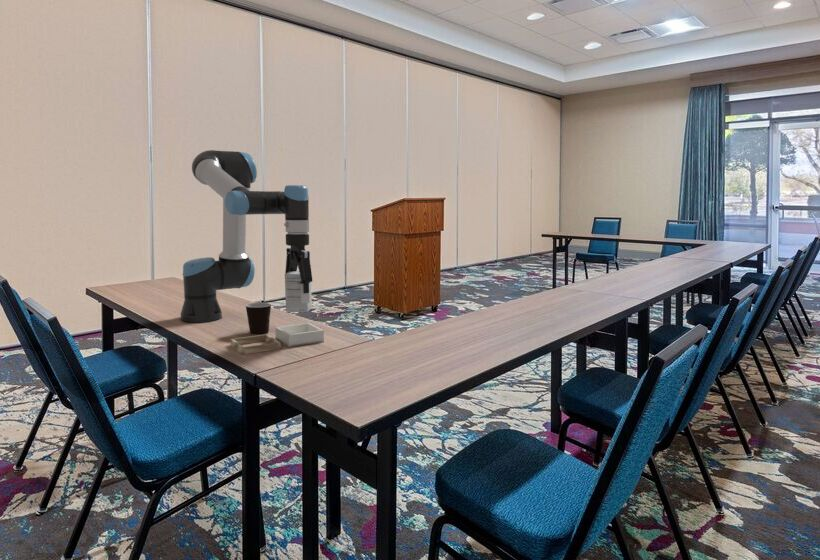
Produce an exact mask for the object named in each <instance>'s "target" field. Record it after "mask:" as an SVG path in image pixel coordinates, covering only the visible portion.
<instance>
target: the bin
mask: <svg viewBox="0 0 820 560" xmlns="http://www.w3.org/2000/svg"><path fill="white" fill-rule="evenodd" d="M274 328H275V330H274V332H275V334H274V335H275V339H276V340H277V341H278V340H279V342H281V343H282V344H283V345H284V346H286V347H288V348H292V347H293V348H294V347H299V345H300V346H306V344H307V345H312V344H313V345H314V344H319V343H324V341H325V330H324V329H322V328H320V327H318V326H317V325H314V324H312V323H310V322H304V323H299V324H298V323H297V324H290V325H289V324H288V325H282V326H275V327H274Z"/></svg>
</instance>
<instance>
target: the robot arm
mask: <svg viewBox="0 0 820 560" xmlns="http://www.w3.org/2000/svg"><path fill="white" fill-rule="evenodd" d="M256 164H257V163H256V162H255V160H254V157H252V155H251V154H250V153H248V152H243V151H232V150H231V151H230V150H229V151H228V150H226V151H225V150H215V149H213V150H212V149H209V150H205V151H202V152H200V153H199V154H197V155H196V157H195V158H194V159H193V160H192V163H191V172H192V174H193V176H194V178H195V180H197V182H199V183H200V184H203V185H205V186H208V187H209V188H210V189H212V190H213V191H214V192H215V193H216V194H217V195H219V196H220V197H221V198H222V251H221V252H220V253H219V254H218V260H215V258H214V257H210V256H209V257H200V258H194V259H190V260H188V261H186V262H184V264H183V266H182V278H183V294H184V296H183V297H184V301H183V304H182V307H181V311H180V321H182V322H185V323H207V322H214V321H218V320H220V319H222V318H223V311H222V309H221V306H220V304H219V303H220V302H218V298H217V291H223V290H230V289H241V288H246V287H248V286H250V285H251V284H252V282H253V281H254V279H255V273H256V270H255V264H254V262H253V260H252V259H251V258H250V254H248V253H247V252H246V235H247V234H246V232H247V231H246V230H247V229H246V227H247V225H246V223H247V215H250V216H251V215H284V218H285V219H284V220H285V222H284V223H283V225H284V226H285V232H286V234H285V246H287V248H286V249H285V250H286V259H285V271H284V275H285V274H286V273H288V272H290V271H297V270H298V271H299V273H300V277H301V282H300V288H301V303H310V300H309V283H310V282H311V283H313V275H312V265H311V257H310V256H311V253H310V250H307V251H306V249H305V247H306V246H309V245H310V234H309V233H308V232H310V220H309V216H310V215H309V213H310V212H309V201H310V200H309V197H310V196H309V189H308V187H307V186H306V185H298V184H297V185H296V184H294V185H293V184H290V185H289V184H287V185H285V186H284V190H283V191H281V190H278V191H273V190H272V191H269V190H268V191H267V190H265V191H264V190H262V191H261V190H259V191H258V190H250V189H251V184H253V183H255V182H256V180H257V176H258V170H257V165H256ZM289 246H290V247H289Z"/></svg>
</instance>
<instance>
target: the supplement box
mask: <svg viewBox="0 0 820 560" xmlns="http://www.w3.org/2000/svg"><path fill="white" fill-rule="evenodd" d="M300 282H301V277H300V273H299V270H298V271H290V272H288V273H286V274H285V273H284V292H285V293H284V295H285V312H286V313H308V312H309V311H310V310H311V309H312V307H313V305H312V304H313V303H312V302H313V301H312V300H313V299H312V282H310V283H309V300H310V303H301V288H300Z"/></svg>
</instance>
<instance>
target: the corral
mask: <svg viewBox="0 0 820 560" xmlns="http://www.w3.org/2000/svg"><path fill="white" fill-rule="evenodd" d="M259 342H267V343H265V344H256V345H250V346H243V345H247V344H252V343H259ZM281 343H282V342H280V341H278V340H277V339H276V338H274V337H273V336H271V335H270V334H269V333H267V334H263V335H252V336H251V335H250V336H243V337H237V338H230V345H231V347H232V348H234V349H235V350H237V352H239V354H240V355H241V354H242V355H246V354H254V353H260V352H268V351H274V350H273V349H275V350H281V349H282V346H281ZM280 348H281V349H280Z"/></svg>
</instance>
